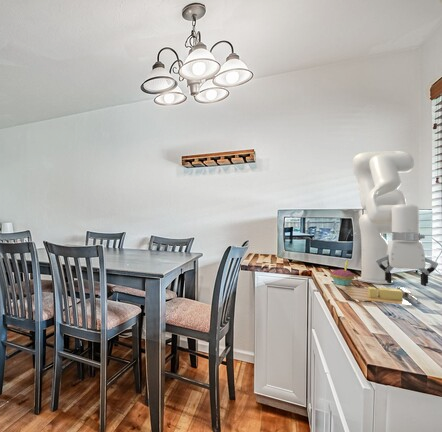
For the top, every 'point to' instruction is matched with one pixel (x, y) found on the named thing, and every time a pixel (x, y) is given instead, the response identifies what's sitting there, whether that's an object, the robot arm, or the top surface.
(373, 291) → the butter pat
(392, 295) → the butter
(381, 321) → the top surface
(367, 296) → the board
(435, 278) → the top surface
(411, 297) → the knife
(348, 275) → the birthday cake
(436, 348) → the top surface
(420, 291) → the top surface
